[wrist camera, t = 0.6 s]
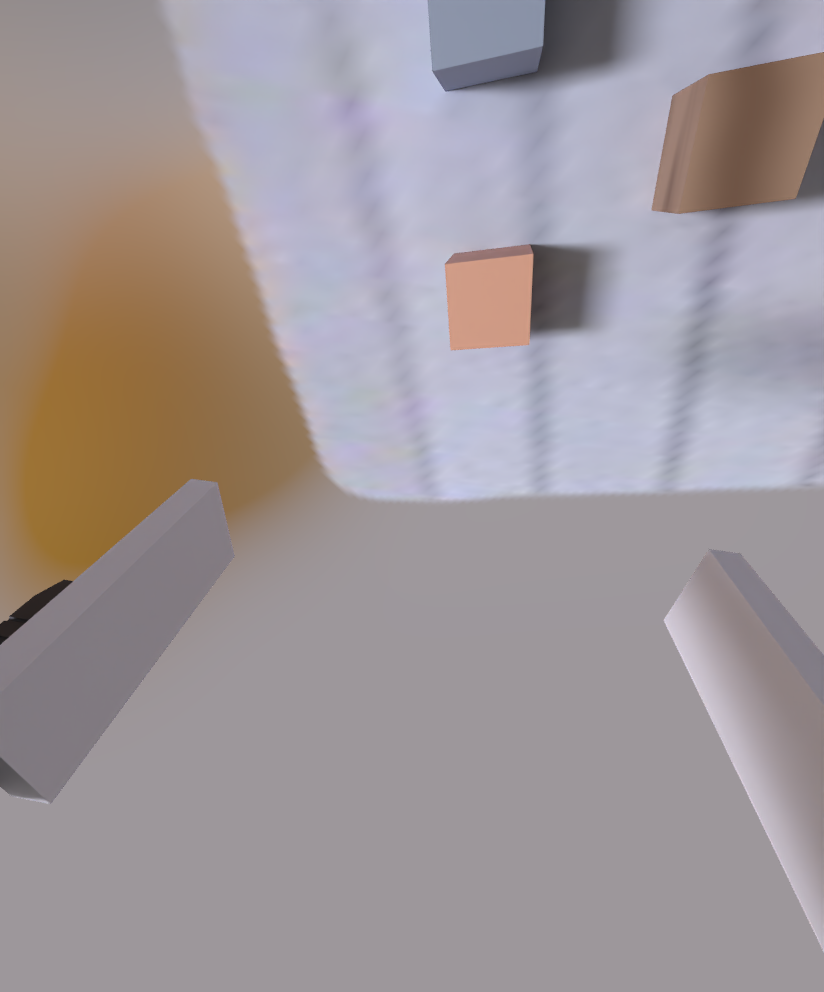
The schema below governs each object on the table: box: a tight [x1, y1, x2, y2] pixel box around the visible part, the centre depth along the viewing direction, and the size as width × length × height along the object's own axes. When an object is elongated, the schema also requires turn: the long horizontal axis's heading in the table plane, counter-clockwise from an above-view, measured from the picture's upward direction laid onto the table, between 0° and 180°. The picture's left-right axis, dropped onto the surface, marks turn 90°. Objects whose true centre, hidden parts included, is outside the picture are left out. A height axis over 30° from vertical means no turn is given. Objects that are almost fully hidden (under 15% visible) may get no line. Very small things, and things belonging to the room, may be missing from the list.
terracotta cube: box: [445, 244, 533, 350], centre depth 27 cm, size 5×5×5 cm
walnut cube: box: [652, 52, 824, 214], centre depth 20 cm, size 5×5×5 cm
